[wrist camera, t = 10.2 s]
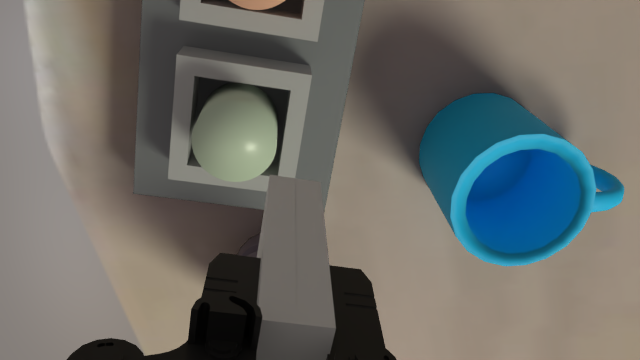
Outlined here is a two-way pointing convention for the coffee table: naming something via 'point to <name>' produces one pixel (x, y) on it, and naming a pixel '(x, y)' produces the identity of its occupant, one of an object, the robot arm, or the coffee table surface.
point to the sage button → (236, 133)
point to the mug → (510, 180)
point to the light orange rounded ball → (257, 4)
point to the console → (249, 68)
